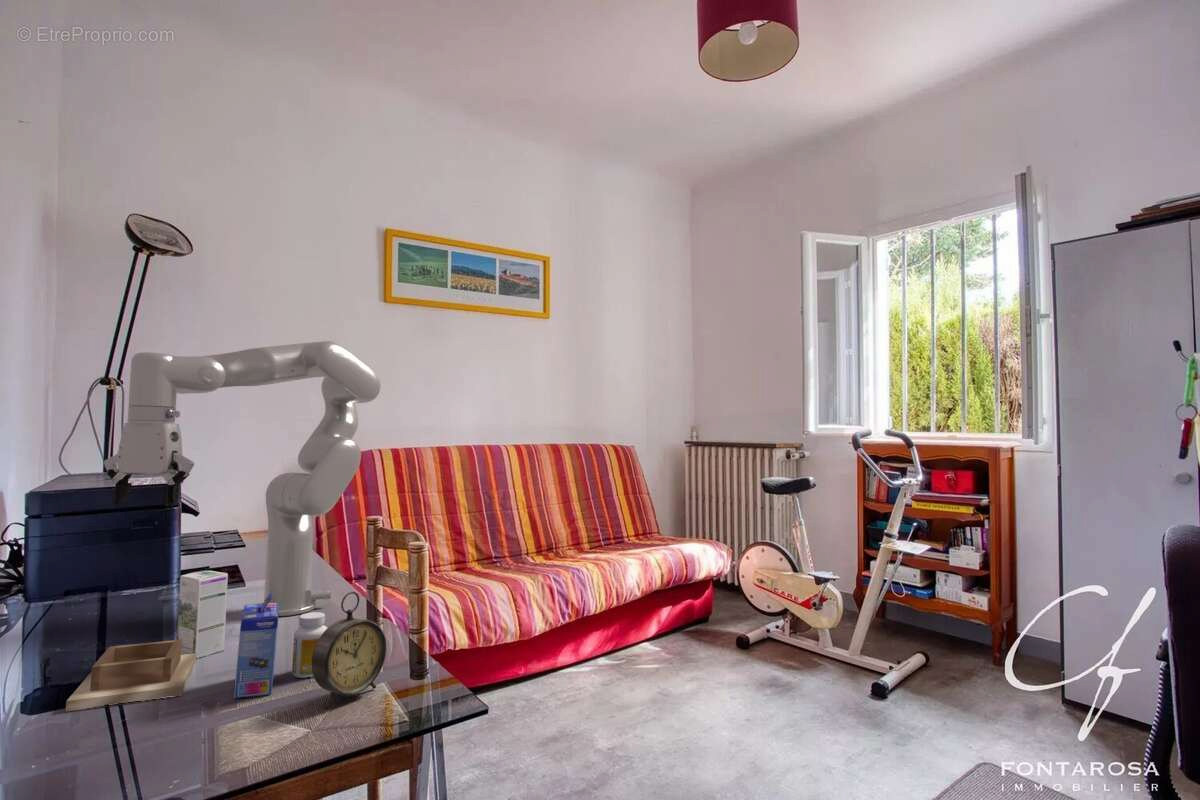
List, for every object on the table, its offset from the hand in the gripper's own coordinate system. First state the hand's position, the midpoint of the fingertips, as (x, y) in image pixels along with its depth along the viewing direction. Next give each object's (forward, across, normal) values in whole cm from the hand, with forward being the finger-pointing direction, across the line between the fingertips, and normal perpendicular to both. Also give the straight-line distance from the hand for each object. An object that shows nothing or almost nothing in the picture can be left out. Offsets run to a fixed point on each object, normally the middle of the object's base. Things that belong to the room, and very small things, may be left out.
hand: (146, 504), depth 120 cm
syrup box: (+27, -14, +3) cm, 31 cm away
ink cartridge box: (+27, -33, +17) cm, 46 cm away
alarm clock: (+27, -50, +19) cm, 59 cm away
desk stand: (+26, -15, +18) cm, 35 cm away
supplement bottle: (+27, -39, +10) cm, 48 cm away
